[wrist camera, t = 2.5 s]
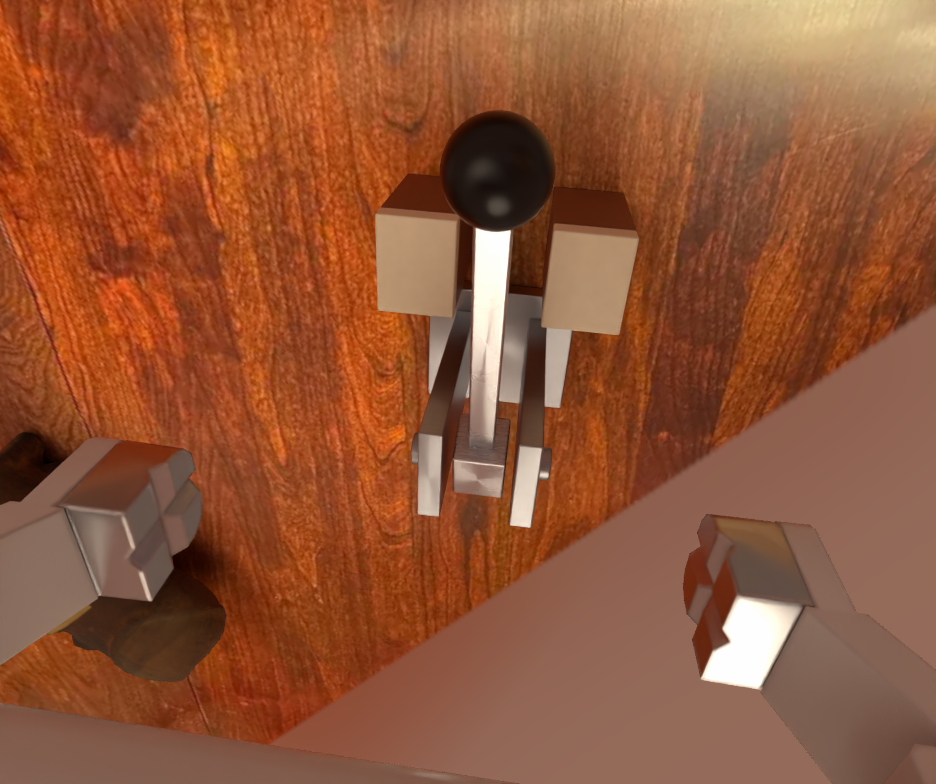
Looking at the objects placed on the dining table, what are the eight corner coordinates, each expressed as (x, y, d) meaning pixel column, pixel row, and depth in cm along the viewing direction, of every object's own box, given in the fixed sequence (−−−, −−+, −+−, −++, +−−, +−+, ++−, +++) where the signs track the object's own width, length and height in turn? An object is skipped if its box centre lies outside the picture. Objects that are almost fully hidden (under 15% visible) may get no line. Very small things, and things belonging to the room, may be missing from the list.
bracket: (433, 277, 35) (380, 401, 24) (577, 291, 35) (587, 424, 24) (430, 383, 39) (383, 531, 28) (560, 397, 38) (562, 554, 28)
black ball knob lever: (448, 83, 16) (428, 147, 15) (564, 91, 16) (559, 157, 14) (452, 441, 30) (442, 497, 28) (515, 448, 30) (510, 505, 28)
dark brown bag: (196, 637, 56) (150, 719, 50) (-25, 504, 50) (-110, 578, 44) (271, 572, 50) (229, 655, 44) (31, 414, 44) (-57, 484, 38)
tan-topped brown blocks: (623, 192, 32) (639, 238, 26) (608, 276, 34) (619, 335, 28) (407, 173, 32) (374, 213, 27) (407, 257, 35) (377, 310, 29)
